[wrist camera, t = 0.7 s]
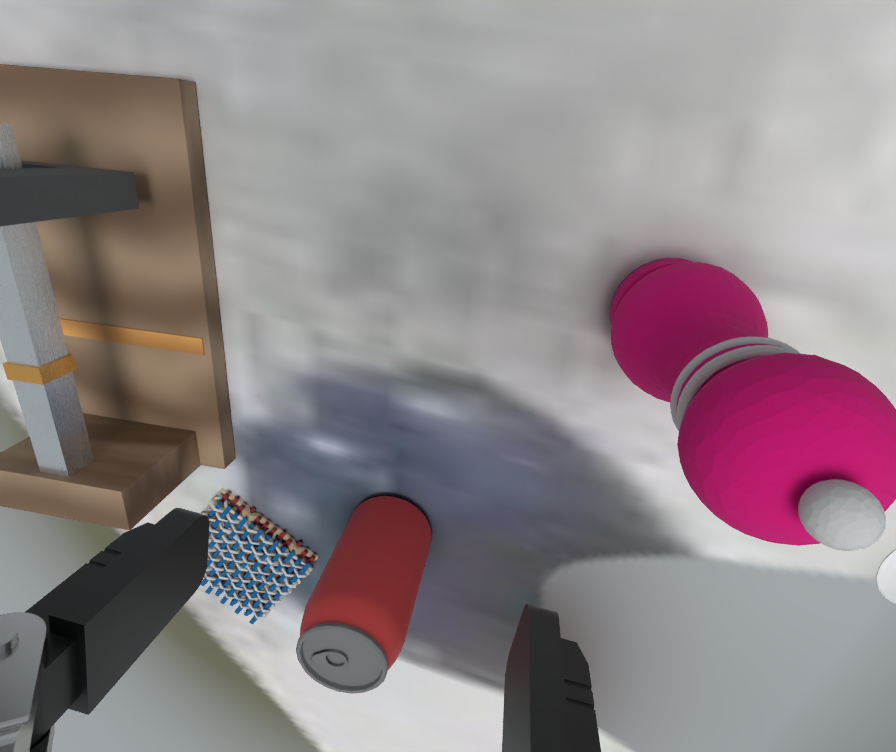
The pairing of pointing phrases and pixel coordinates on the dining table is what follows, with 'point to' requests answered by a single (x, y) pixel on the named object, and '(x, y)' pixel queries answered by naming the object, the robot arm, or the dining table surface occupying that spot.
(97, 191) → the dark grey block
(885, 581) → the champagne flute
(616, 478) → the dining table surface
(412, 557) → the beer can
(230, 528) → the woven mat
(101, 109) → the base board
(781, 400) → the pepper mill
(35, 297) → the light grey beam
